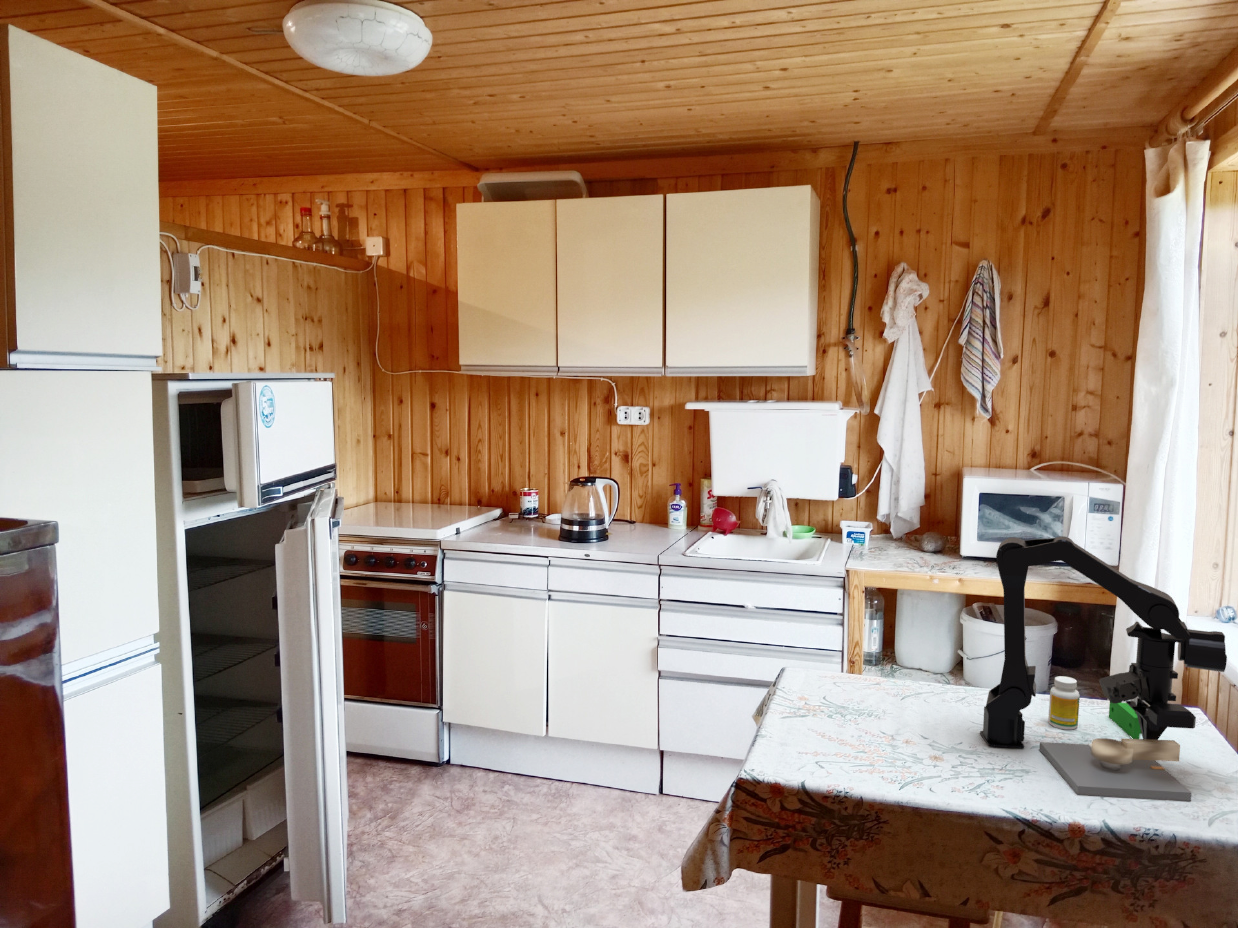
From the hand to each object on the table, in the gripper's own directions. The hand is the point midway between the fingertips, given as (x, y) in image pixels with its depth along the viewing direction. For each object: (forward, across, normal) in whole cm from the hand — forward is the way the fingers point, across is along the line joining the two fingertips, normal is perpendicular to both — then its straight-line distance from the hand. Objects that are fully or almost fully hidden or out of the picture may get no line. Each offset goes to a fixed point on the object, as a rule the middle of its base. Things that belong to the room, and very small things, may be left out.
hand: (1148, 745), depth 159 cm
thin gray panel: (+4, +4, -8) cm, 10 cm away
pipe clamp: (+4, -18, +5) cm, 19 cm away
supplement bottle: (+4, -18, -8) cm, 20 cm away
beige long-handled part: (+1, +4, -4) cm, 5 cm away
